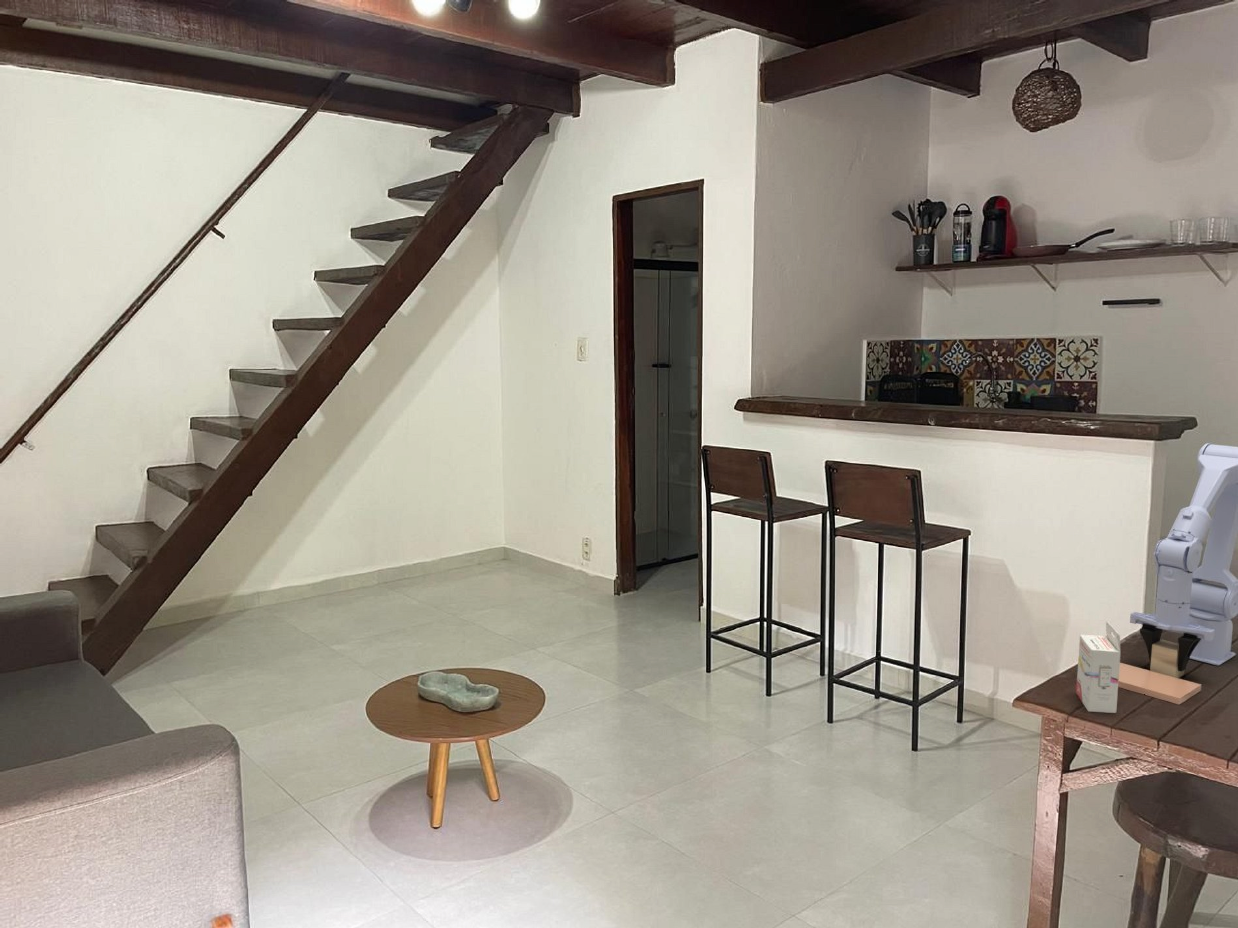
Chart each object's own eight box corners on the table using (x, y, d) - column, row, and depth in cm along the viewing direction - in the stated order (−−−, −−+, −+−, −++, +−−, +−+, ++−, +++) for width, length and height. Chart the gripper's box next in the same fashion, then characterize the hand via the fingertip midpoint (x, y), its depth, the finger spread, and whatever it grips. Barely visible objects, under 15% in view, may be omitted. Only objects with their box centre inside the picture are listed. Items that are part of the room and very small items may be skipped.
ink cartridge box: (1074, 693, 175) (1079, 618, 173) (1102, 695, 174) (1108, 619, 172) (1087, 711, 167) (1092, 633, 164) (1117, 714, 166) (1123, 635, 163)
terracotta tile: (1118, 667, 187) (1118, 662, 187) (1200, 690, 175) (1201, 684, 175) (1095, 680, 181) (1095, 674, 181) (1179, 704, 169) (1179, 698, 169)
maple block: (1159, 667, 187) (1161, 639, 186) (1183, 674, 183) (1186, 645, 182) (1149, 673, 184) (1152, 644, 183) (1174, 680, 181) (1177, 650, 180)
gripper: (1125, 595, 184) (1120, 660, 187) (1206, 612, 173) (1200, 682, 175) (1140, 588, 189) (1135, 652, 191) (1221, 605, 178) (1214, 672, 180)
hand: (1167, 666), depth 183 cm, fingers closed on maple block, 4 cm apart
